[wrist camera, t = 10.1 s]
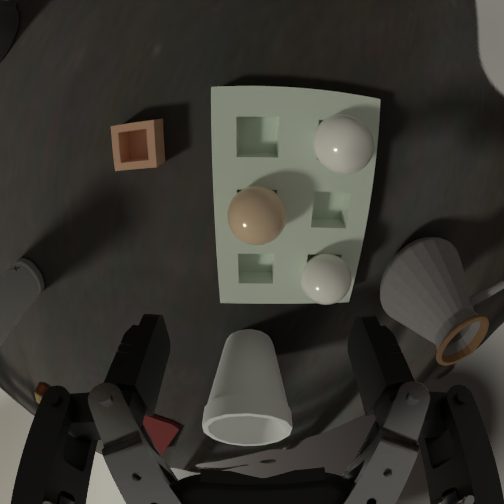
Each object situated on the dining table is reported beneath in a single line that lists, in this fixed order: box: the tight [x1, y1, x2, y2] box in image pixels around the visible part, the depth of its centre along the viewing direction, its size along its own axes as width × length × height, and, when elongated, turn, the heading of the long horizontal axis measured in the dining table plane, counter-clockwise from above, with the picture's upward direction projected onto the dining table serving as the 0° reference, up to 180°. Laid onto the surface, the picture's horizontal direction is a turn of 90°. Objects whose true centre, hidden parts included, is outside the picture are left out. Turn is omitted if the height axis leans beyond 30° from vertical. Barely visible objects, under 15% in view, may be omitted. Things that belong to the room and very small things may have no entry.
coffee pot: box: [380, 237, 504, 365], centre depth 21 cm, size 21×12×15 cm, turn 143°
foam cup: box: [202, 329, 292, 446], centre depth 30 cm, size 10×9×13 cm
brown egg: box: [227, 186, 287, 245], centre depth 22 cm, size 5×5×5 cm
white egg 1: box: [313, 114, 374, 174], centre depth 19 cm, size 5×5×5 cm
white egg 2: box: [301, 254, 351, 305], centre depth 25 cm, size 5×5×5 cm
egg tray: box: [211, 86, 380, 304], centre depth 25 cm, size 21×14×2 cm, turn 0°
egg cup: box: [111, 119, 165, 171], centre depth 22 cm, size 4×4×2 cm
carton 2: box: [143, 415, 180, 455], centre depth 54 cm, size 12×5×25 cm
